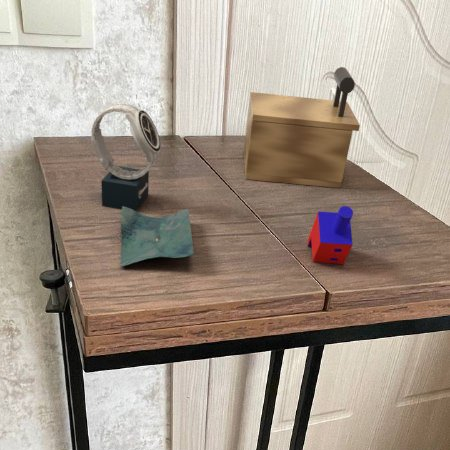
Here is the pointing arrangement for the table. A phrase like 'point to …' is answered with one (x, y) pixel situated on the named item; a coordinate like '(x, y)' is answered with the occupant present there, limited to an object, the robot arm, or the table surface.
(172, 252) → the terrain model
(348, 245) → the toy building block
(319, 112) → the case lid
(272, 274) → the table surface
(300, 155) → the case
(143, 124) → the watch
